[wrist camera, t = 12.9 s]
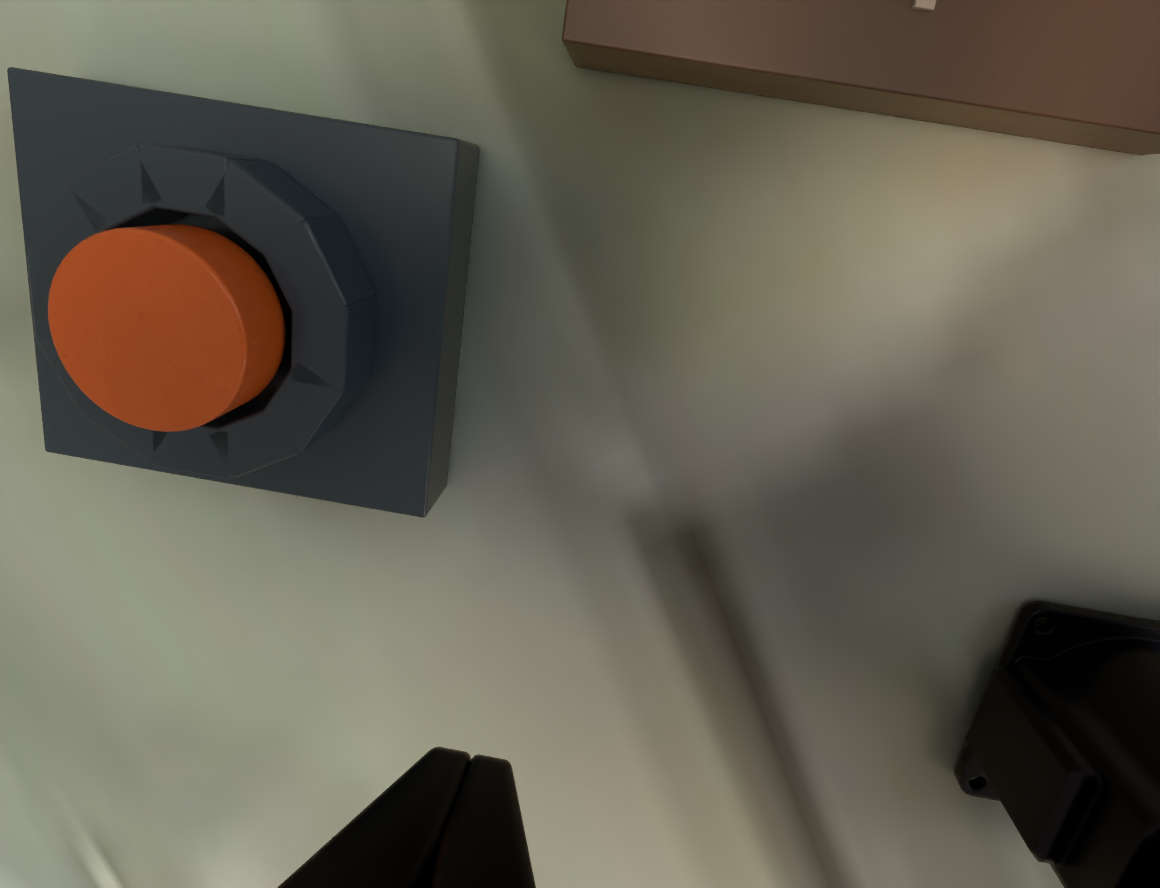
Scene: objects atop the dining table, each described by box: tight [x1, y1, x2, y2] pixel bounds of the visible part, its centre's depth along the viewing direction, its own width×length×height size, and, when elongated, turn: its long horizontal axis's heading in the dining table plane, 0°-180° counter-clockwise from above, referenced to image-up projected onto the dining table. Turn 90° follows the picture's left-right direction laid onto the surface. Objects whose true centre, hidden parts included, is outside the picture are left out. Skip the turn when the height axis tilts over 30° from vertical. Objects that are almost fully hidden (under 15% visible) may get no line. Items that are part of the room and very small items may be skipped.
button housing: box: [7, 67, 480, 517], centre depth 17 cm, size 10×9×4 cm
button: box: [48, 224, 286, 432], centre depth 15 cm, size 4×4×2 cm
